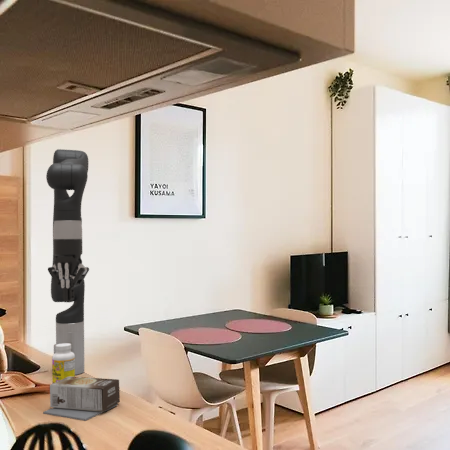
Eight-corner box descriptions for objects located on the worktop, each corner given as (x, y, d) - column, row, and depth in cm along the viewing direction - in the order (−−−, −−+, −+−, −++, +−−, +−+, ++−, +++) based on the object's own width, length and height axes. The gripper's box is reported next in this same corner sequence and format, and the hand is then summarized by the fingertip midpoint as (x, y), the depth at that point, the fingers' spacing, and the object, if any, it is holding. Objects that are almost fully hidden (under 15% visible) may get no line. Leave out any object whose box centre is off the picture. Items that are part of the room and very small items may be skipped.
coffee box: (68, 375, 148) (120, 378, 144) (68, 398, 148) (120, 402, 144) (49, 384, 140) (103, 388, 135) (49, 408, 139) (104, 413, 135)
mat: (43, 413, 137) (43, 411, 137) (77, 399, 148) (77, 397, 149) (85, 420, 131) (85, 419, 131) (117, 405, 142) (117, 403, 142)
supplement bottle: (48, 386, 162) (48, 344, 162) (68, 382, 167) (68, 341, 167) (58, 391, 157) (58, 347, 157) (78, 386, 162) (78, 344, 162)
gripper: (96, 237, 143) (97, 301, 142) (59, 237, 149) (59, 299, 148) (77, 237, 136) (78, 304, 136) (39, 238, 142) (39, 302, 141)
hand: (68, 301), depth 142 cm, fingers closed
